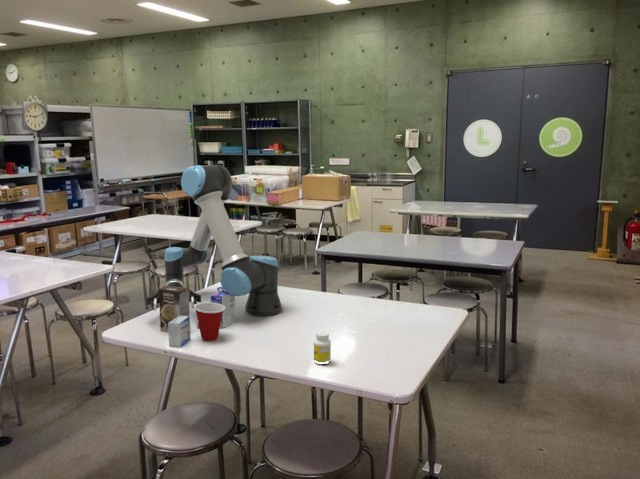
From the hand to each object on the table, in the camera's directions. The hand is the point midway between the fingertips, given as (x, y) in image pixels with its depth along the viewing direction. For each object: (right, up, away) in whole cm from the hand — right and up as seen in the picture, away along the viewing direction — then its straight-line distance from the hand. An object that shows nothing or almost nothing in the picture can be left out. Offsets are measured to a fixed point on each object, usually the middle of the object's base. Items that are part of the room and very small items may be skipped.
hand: (174, 306), depth 196 cm
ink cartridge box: (+17, -8, +7) cm, 20 cm away
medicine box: (+5, -11, -12) cm, 18 cm away
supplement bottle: (+55, -15, -26) cm, 63 cm away
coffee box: (+1, -9, 0) cm, 9 cm away
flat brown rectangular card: (+10, -8, +5) cm, 14 cm away
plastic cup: (+15, -11, -8) cm, 20 cm away
